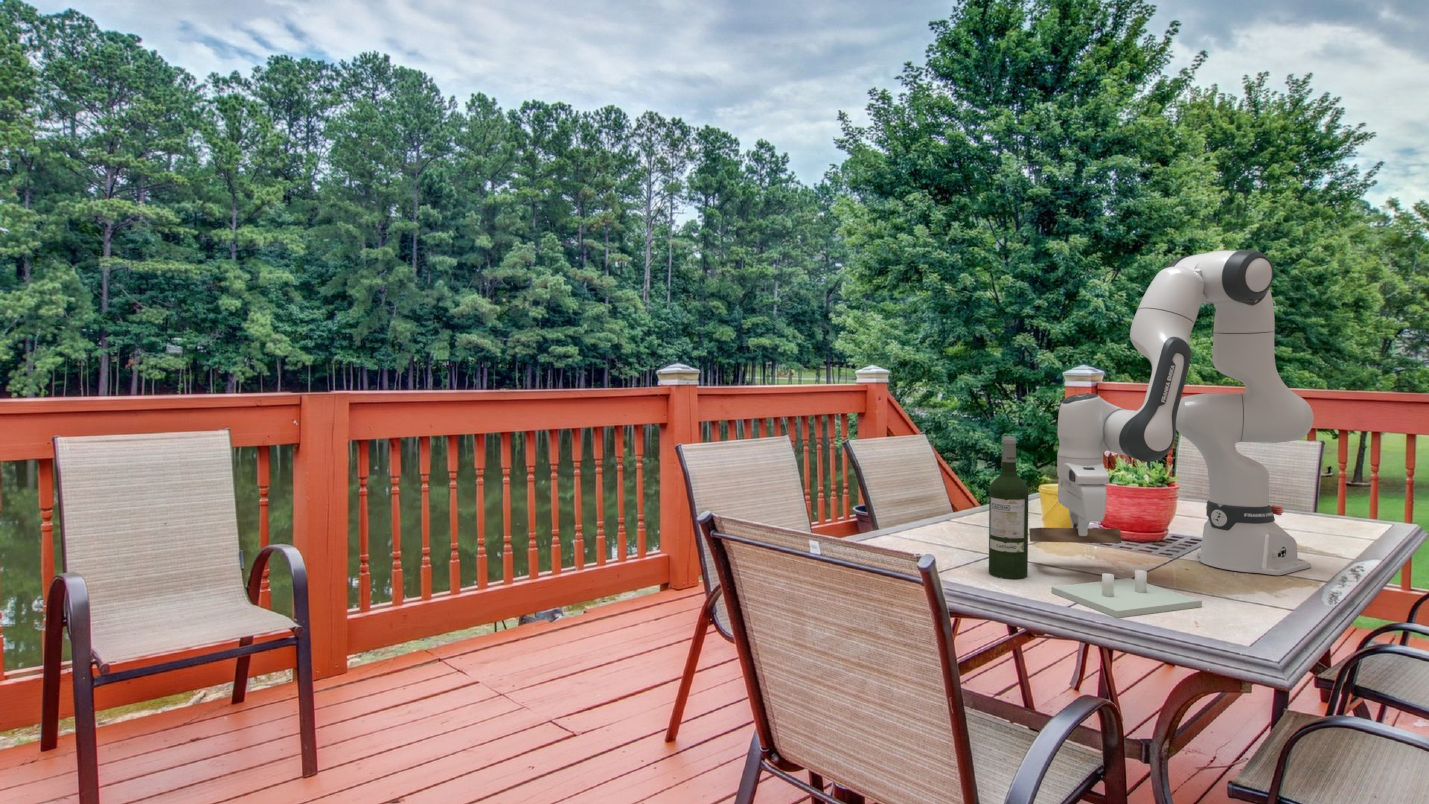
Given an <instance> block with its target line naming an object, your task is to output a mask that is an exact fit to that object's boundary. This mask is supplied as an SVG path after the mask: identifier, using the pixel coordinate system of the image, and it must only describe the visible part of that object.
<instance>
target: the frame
mask: <svg viewBox="0 0 1429 804" xmlns="http://www.w3.org/2000/svg"><path fill="white" fill-rule="evenodd" d="M1028 533H1029V542H1030V543H1031V542H1033V543H1034V542H1035V543H1072V544H1073V543H1074V544H1075V543H1077V544H1078V543H1079V544H1081V543H1082V544H1084V543H1086V544H1122V534H1121V528H1089V527H1088V534H1087V536H1080V535H1078V534H1077V528H1071V527H1033V528H1032V527H1030V528H1029V527H1028Z"/></svg>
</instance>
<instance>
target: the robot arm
mask: <svg viewBox="0 0 1429 804" xmlns="http://www.w3.org/2000/svg"><path fill="white" fill-rule="evenodd" d="M1274 271H1275V270H1274V266H1273V263H1272V261H1270V259H1269V257H1268V256H1267V255H1266V254H1265V253H1263V252H1261V251H1257V250H1251V249H1240V250H1214V251H1210V252H1204V253H1199V254H1188V255H1183V256H1180V257H1178V258H1175V259H1173V260H1172V261H1171V262H1170V263H1169V264H1167V265H1166V267H1165V268H1164V269H1161V270H1160V271H1159V272H1157V274H1156V275H1155V276H1154V278H1153V279H1152V281H1151V282H1150V284H1149V285H1148V287H1147V289H1146V290H1145V293H1144V295H1143V296H1142V298H1141V300H1140V303H1139V305H1138V308H1137V309H1136V313H1135V315H1134V317H1133V319H1132V323H1131V327H1130V332H1129V339H1130V342H1131V343H1132V345H1133V346H1134V348H1135V349H1136V350H1137V352H1138V353H1140V355H1142V356H1144V357H1145V358H1146V359H1148V360H1149V362H1150V364H1151V375H1150V378H1149V382H1148V386H1147V389H1146V393H1145V397H1144V401H1143V404H1142V406H1140V408H1138V409H1137V410H1134V409H1133V410H1132V409H1129V408H1128V409H1126V408H1122V407H1120V406H1118V405H1115V404H1112V403H1110V402H1108V401H1106V400H1104V399H1103V398H1102V397H1101V396H1100V395H1099V394H1097V393H1079V394H1073V395H1070V396H1068V397H1066V398H1064V399H1063V400H1062V401H1061V403H1060V405H1059V410H1058V418H1057V438H1058V443H1059V445H1058V450H1057V456H1056V457H1057V462H1056V465H1057V466H1056V468H1057V471H1056V472H1057V473H1056V474H1057V475H1056V476H1057V477H1058V481H1057V502H1058V503H1059V504H1060V505H1062V506H1063V507H1065V508H1066V509H1068V514H1069V515H1068V516H1069V519H1070V528H1077V534H1078V535H1080V536H1087V534H1088V528H1089V525H1090V523H1091V522H1093V523H1098V522H1104V519H1105V517H1106V511H1107V499H1108V498H1107V495H1108V494H1107V486H1106V485H1110V474H1109V472H1108V471H1107V470H1106V468H1105V464H1104V452H1111V453H1114V454H1118V455H1123V456H1126V457H1129V458H1132V459H1135V460H1137V461H1140V462H1145V463H1151V462H1157V461H1160V460H1161V459H1163V458H1165V456H1167V455H1168V453H1170V452H1171V450H1172V449H1173V447H1174V444H1175V441H1176V437H1177V435H1176V434H1177V432H1178V433H1179V434H1180V436H1182V437H1184V438H1185V439H1186V440H1187V441H1189V442H1190V443H1191V444H1193V446H1195V447H1196V449H1197V450H1198V451H1199V452H1200V454H1201V456H1202V457H1203V459H1204V462H1205V464H1206V467H1207V473H1208V488H1209V489H1208V492H1209V493H1208V494H1209V495H1208V500H1207V501H1206V506H1205V510H1206V517H1207V521H1205V522H1204V524H1203V528H1202V529H1203V530H1202V538H1201V546H1200V550H1198V551H1197V553H1196V557H1198V558H1199V559H1198V560H1199V562H1200V563H1202V564H1204V565H1207V566H1210V567H1214V568H1218V569H1222V570H1228V571H1234V572H1241V573H1242V572H1243V573H1251V574H1252V573H1255V574H1265V575H1272V576H1282V575H1283V576H1284V575H1286V574H1290V573H1294V572H1298V571H1302V570H1305V569H1309V568H1312V563H1311V562H1309V561H1308V560H1306V559H1305V560H1304V559H1301V558H1299V557H1298V555H1299V554H1298V544H1297V541H1296V538H1294V537H1293V536H1291V535H1290V534H1289V533H1288V532H1287V531H1285V530H1284V529H1283V528H1282V527H1281V526H1279V525H1278V524H1277V523H1276V522H1275V521H1276V519H1275V515H1277V516H1282V515H1283V513H1284V508H1283V506H1279V505H1278V506H1277V505H1274V504H1273V505H1271V504H1270V472H1269V471H1268V469H1267V467H1266V466H1265V465H1263V464H1262V463H1260V462H1258V461H1257V460H1255V459H1252V458H1250V457H1249V456H1246V455H1244V454H1241V453H1240V452H1238V450H1237V448H1236V444H1237V443H1263V444H1264V443H1266V444H1267V443H1269V444H1278V443H1287V442H1288V443H1289V442H1295V441H1301V440H1303V439H1304V438H1305V437H1306V436H1307V435H1308V434H1309V433H1310V432H1311V430H1312V427H1313V426H1314V421H1315V420H1314V419H1315V416H1314V412H1313V408H1312V407H1311V406H1310V404H1309V403H1308V401H1306V399H1304V398H1303V397H1302V396H1300V395H1298V394H1297V393H1295V392H1294V391H1292V390H1291V389H1290V388H1289V387H1288V386H1287V385H1286V384H1285V383H1284V381H1283V380H1282V378H1281V376H1280V374H1279V372H1278V370H1277V369H1278V368H1277V365H1276V359H1275V358H1276V357H1275V334H1276V333H1275V330H1276V329H1275V327H1276V325H1275V324H1276V323H1275V307H1274V302H1273V301H1274V300H1273V296H1272V291H1271V290H1270V289H1271V286H1272V284H1273V282H1274V275H1275V274H1274ZM1202 304H1213V307H1214V308H1215V313H1214V318H1213V319H1214V321H1213V332H1212V333H1213V334H1212V335H1213V336H1212V337H1213V338H1212V339H1213V340H1212V342H1213V343H1212V365H1213V366H1214V368H1215V369H1216V371H1218V372H1219V373H1220V374H1222V375H1224V376H1226V377H1229V378H1231V379H1234V380H1236V381H1238V382H1241V383H1242V384H1243V385H1244V387H1245V391H1244V392H1239V393H1237V392H1236V393H1235V392H1234V393H1233V392H1231V393H1230V392H1229V393H1228V392H1224V393H1223V392H1218V393H1217V392H1206V393H1199V394H1198V393H1197V394H1192V395H1185V396H1183V393H1184V388H1185V385H1186V381H1187V378H1188V377H1187V376H1188V374H1189V369H1190V363H1191V357H1192V356H1191V354H1192V351H1191V347H1190V337H1191V335H1192V331H1193V328H1194V325H1195V323H1196V320H1197V318H1198V315H1199V312H1200V308H1201V305H1202ZM1182 396H1183V397H1182Z"/></svg>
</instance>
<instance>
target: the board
mask: <svg viewBox="0 0 1429 804" xmlns="http://www.w3.org/2000/svg"><path fill="white" fill-rule="evenodd" d="M1101 575H1102V576H1101V581H1095V582H1094V581H1093V582H1092V581H1091V582H1085V583H1084V582H1083V583H1074V584H1065V585H1055V586H1051V594H1054V595H1057V596H1060V597H1061V598H1064V599H1066V600H1069V601H1072V602H1074V603H1077V604H1080V605H1083V606H1085V607H1087V608H1090V609H1093V610H1096V611H1098V612H1100V613H1101V612H1102V613H1104V614H1106V615H1108V616H1111V617H1114V618H1117V619H1118V618H1119V619H1121V618H1126V617H1135V616H1140V615H1141V616H1142V615H1150V614H1157V612H1158V613H1165V612H1173V611H1180V609H1181V610H1188V609H1195V608H1202V607H1203V600H1202V599H1198V598H1195V597H1192V596H1188V595H1185V594H1184V593H1183V594H1182V593H1180V592H1176V591H1173V590H1170V589H1166V588H1164V587H1161V586H1157V585H1154V584H1150V583H1148V582H1147V581H1148V580H1147V577H1148V571H1147V570H1143V569H1135V570H1134V578H1130V577H1128V578H1127V577H1126V578H1117V579H1115V574H1113V573H1105V572H1103V573H1101Z"/></svg>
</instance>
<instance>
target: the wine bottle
mask: <svg viewBox="0 0 1429 804" xmlns="http://www.w3.org/2000/svg"><path fill="white" fill-rule="evenodd" d="M1016 444H1017V439H1016V436H1003V438H1002V452H1001V453H1002V455H1001V472H1000V474H999V476H997V477H996V478H995V479H994V480H993V481H992V482H991V484H990V486H989V490H988V492H989V496H988V497H989V504H988V505H989V506H988V507H989V511H988V517H989V518H988V572H989V574H990V575H991V574H992V575H991V576H993V575H994V576H993V577H995V578H1000V577H1002V578H1001V579H1006V578H1007V579H1008V580H1021V579H1025V578H1027V576H1028V575H1029V574H1028V571H1029V568H1028V567H1029V565H1028V564H1029V563H1028V560H1029V559H1028V558H1029V555H1028V554H1029V487H1028V484H1027V483H1026V482H1025V481H1024V480H1023V479H1022V478H1021V477H1019V475H1018V471H1017V448H1016V447H1017V446H1016ZM1007 579H1006V580H1007Z"/></svg>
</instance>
